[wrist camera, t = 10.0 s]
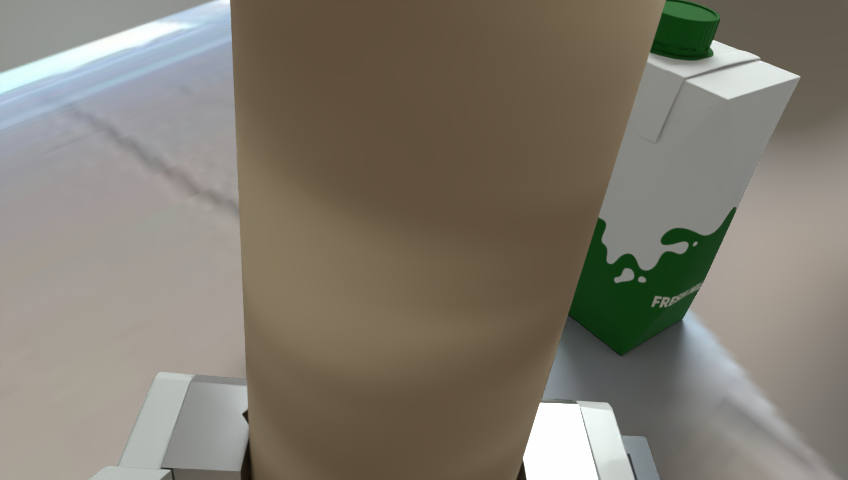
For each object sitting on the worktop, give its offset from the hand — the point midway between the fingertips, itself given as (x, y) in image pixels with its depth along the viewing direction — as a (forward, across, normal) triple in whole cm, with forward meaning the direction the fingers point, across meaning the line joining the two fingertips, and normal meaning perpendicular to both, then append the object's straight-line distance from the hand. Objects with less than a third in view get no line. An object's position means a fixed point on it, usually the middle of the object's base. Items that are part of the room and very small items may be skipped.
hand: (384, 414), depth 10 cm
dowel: (-1, 0, +11) cm, 11 cm away
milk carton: (+29, -17, +22) cm, 40 cm away
